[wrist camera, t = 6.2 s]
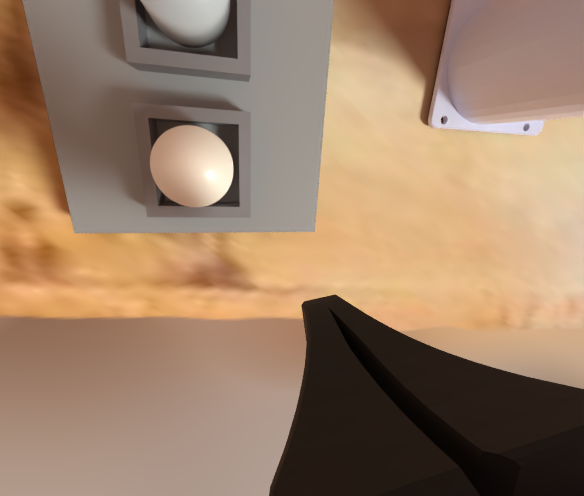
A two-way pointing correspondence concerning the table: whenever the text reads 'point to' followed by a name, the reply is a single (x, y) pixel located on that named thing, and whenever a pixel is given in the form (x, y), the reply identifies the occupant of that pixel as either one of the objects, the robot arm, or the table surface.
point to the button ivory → (191, 166)
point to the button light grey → (190, 20)
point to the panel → (184, 111)
